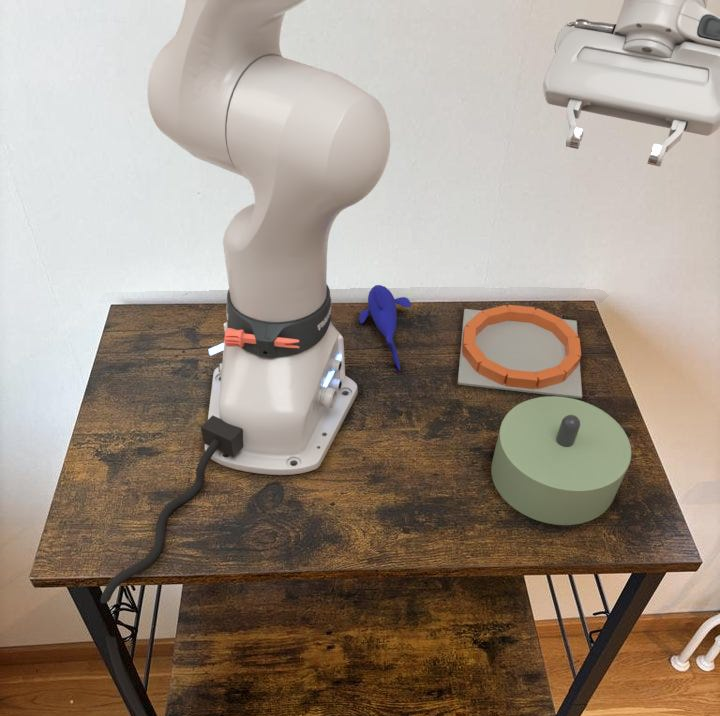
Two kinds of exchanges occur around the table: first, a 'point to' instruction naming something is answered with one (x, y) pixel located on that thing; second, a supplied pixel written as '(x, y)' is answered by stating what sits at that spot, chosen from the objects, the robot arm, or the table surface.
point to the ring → (516, 376)
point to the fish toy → (384, 314)
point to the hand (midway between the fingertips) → (612, 154)
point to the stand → (559, 460)
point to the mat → (519, 355)
